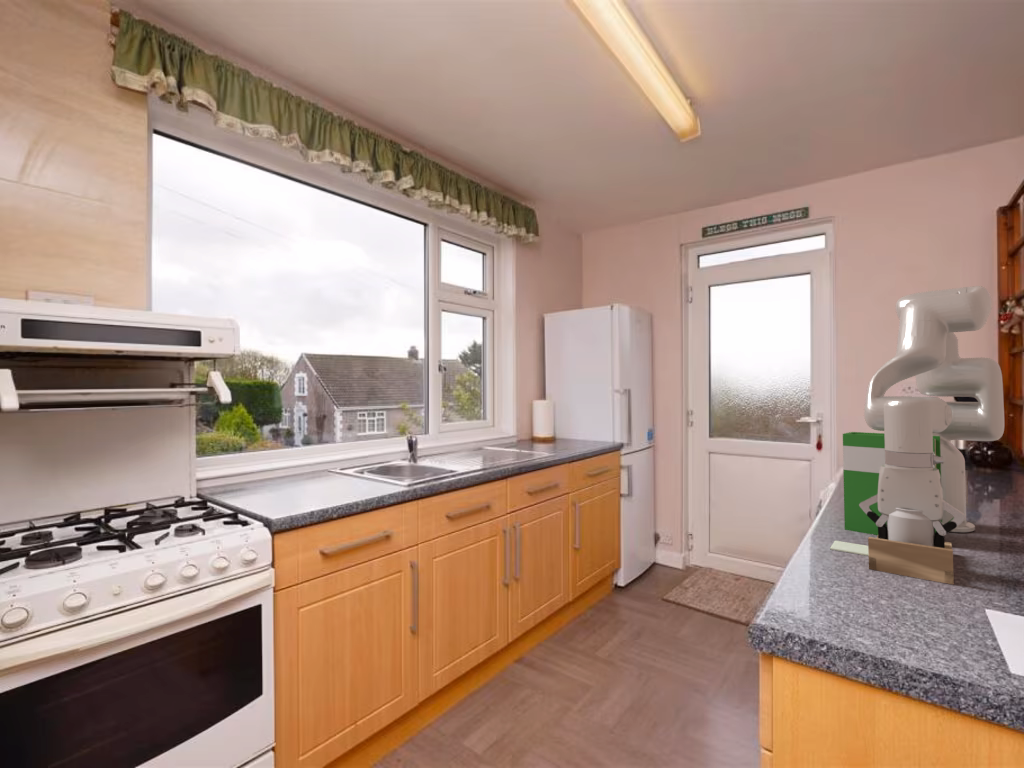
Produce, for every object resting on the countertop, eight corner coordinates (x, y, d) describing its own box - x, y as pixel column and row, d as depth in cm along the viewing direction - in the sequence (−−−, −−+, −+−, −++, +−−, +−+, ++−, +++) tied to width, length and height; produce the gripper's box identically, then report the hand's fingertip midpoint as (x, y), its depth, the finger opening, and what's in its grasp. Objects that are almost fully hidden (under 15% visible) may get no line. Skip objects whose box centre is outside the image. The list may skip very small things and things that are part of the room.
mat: (835, 541, 114) (835, 540, 114) (872, 547, 110) (872, 546, 110) (829, 549, 109) (829, 547, 109) (868, 556, 104) (868, 554, 104)
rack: (879, 542, 113) (878, 516, 113) (951, 554, 105) (951, 525, 105) (868, 569, 97) (868, 538, 97) (953, 584, 89) (952, 551, 89)
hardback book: (942, 539, 115) (940, 436, 116) (936, 545, 110) (933, 438, 111) (853, 524, 129) (851, 431, 129) (844, 529, 124) (842, 433, 124)
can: (936, 566, 98) (935, 505, 98) (934, 576, 92) (933, 512, 93) (889, 557, 103) (888, 500, 103) (884, 567, 98) (883, 506, 98)
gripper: (967, 462, 95) (969, 554, 95) (857, 455, 107) (859, 537, 106) (969, 466, 90) (971, 564, 89) (853, 459, 101) (854, 545, 101)
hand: (910, 549), depth 98 cm, fingers closed on can, 7 cm apart
